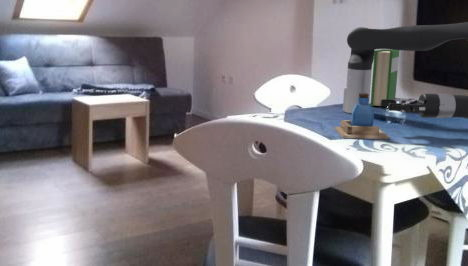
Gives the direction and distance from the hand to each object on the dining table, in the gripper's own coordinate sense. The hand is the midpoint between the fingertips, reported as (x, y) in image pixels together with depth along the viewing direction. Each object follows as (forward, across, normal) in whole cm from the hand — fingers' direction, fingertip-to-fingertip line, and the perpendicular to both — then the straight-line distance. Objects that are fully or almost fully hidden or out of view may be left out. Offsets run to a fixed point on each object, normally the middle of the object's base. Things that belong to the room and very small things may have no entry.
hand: (384, 104), depth 158 cm
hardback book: (-18, -65, +10) cm, 68 cm away
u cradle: (+7, 0, +10) cm, 12 cm away
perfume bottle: (+7, 0, +9) cm, 11 cm away
